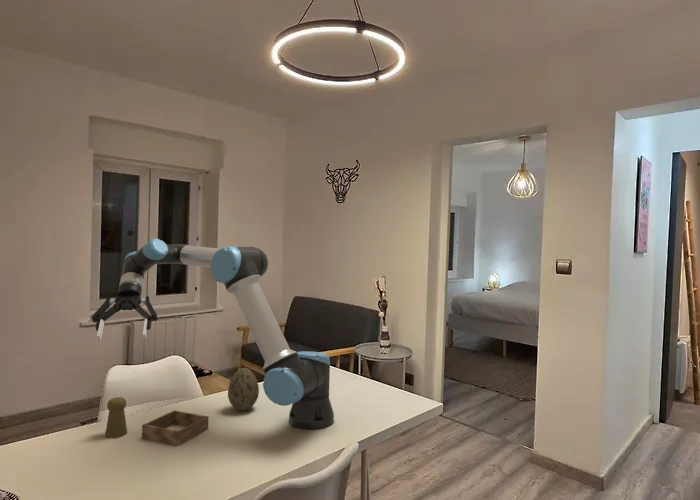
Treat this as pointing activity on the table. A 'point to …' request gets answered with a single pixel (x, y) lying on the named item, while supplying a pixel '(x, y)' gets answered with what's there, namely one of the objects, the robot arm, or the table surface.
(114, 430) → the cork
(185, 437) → the walnut box
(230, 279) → the robot arm
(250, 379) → the decorative egg
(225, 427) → the table surface
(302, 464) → the table surface
